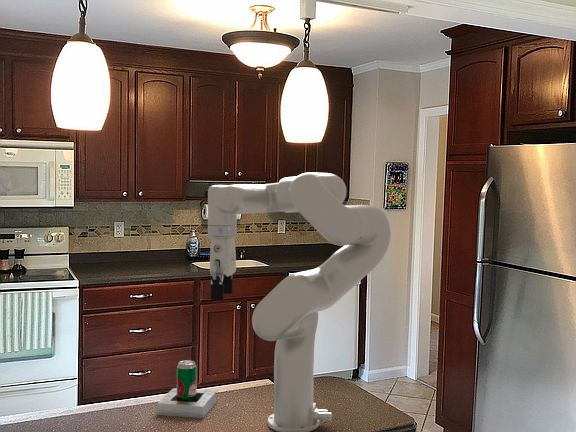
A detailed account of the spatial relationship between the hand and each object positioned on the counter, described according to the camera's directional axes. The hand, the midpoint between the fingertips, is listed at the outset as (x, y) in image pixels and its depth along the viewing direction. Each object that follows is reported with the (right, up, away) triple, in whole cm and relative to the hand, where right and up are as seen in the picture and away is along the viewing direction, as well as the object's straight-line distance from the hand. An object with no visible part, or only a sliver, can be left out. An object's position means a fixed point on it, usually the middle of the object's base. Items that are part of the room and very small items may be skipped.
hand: (222, 296), depth 165 cm
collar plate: (-8, -28, -3) cm, 30 cm away
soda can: (-9, -29, -3) cm, 30 cm away
